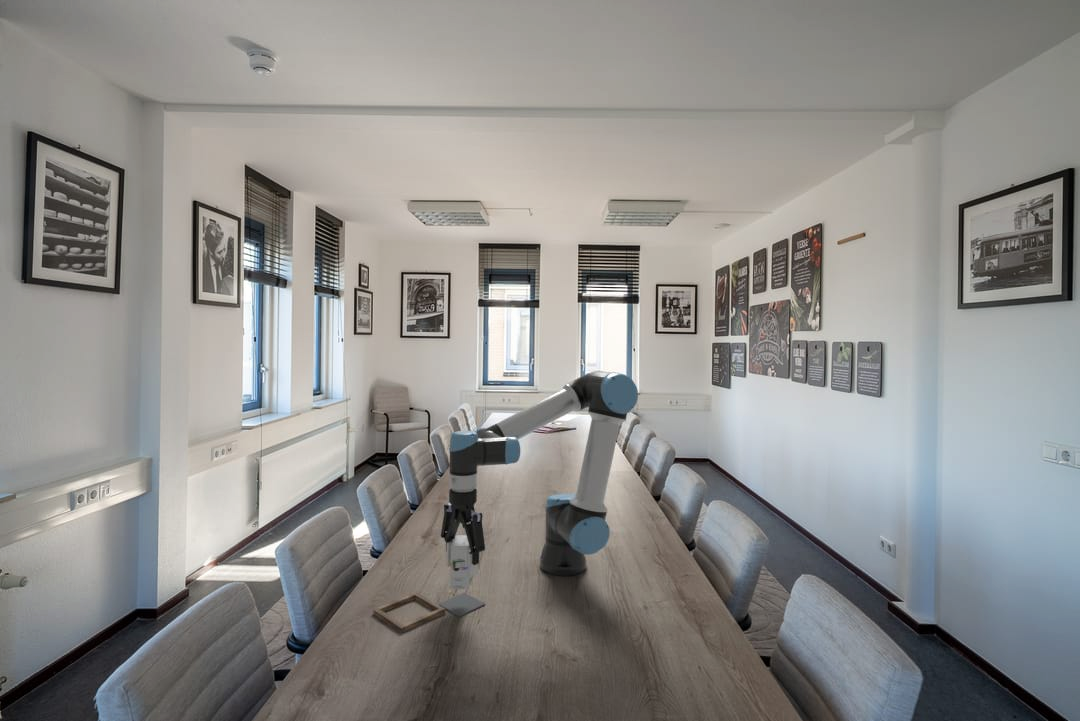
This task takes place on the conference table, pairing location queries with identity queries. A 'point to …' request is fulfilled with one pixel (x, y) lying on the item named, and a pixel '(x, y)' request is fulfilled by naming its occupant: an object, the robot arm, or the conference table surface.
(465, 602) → the felt mat
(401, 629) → the walnut holder
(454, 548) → the ink box
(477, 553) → the robot arm
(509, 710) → the conference table surface
